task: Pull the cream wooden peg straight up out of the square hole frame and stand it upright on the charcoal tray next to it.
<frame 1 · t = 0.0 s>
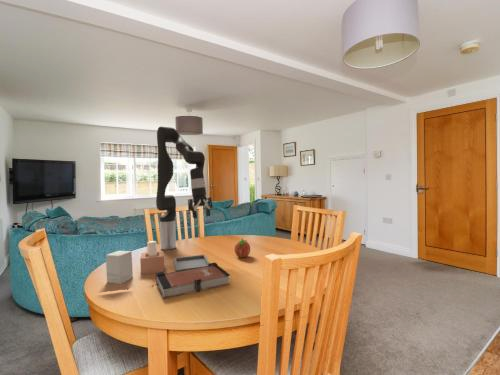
hand: (202, 217, 147), 22 cm above the table, tool pointing down, fingers open, 8 cm apart
book: (192, 285, 112), on the table
supplement box: (120, 282, 117), on the table
tray: (191, 266, 135), on the table
fruit: (242, 257, 149), on the table
square hole frame: (153, 271, 129), on the table
peg: (153, 269, 129), point 1 cm above the table, touching square hole frame
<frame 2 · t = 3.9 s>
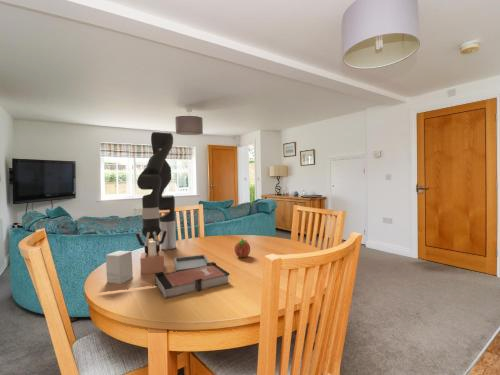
hand: (152, 253, 129), 9 cm above the table, tool pointing down, fingers closed on peg, 4 cm apart
peg: (153, 269, 129), point 1 cm above the table, touching square hole frame, gripper
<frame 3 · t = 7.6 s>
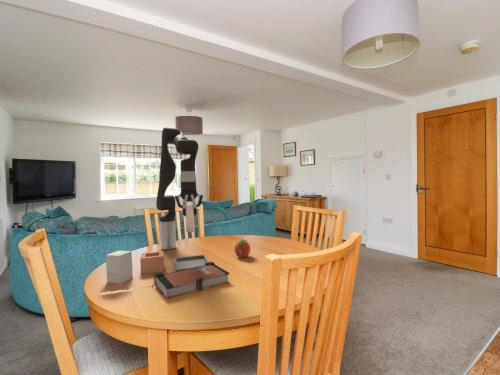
hand: (189, 215, 134), 25 cm above the table, tool pointing down, fingers closed on peg, 4 cm apart
peg: (190, 231, 134), point 17 cm above the table, touching gripper
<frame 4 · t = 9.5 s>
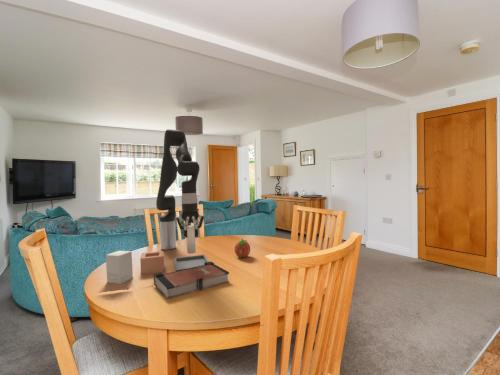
hand: (190, 236, 134), 15 cm above the table, tool pointing down, fingers closed on peg, 4 cm apart
peg: (191, 252, 134), point 7 cm above the table, touching gripper
when the fingers open (10 cm above the table, at t = 11.3 s): peg stays where it is, resting on tray.
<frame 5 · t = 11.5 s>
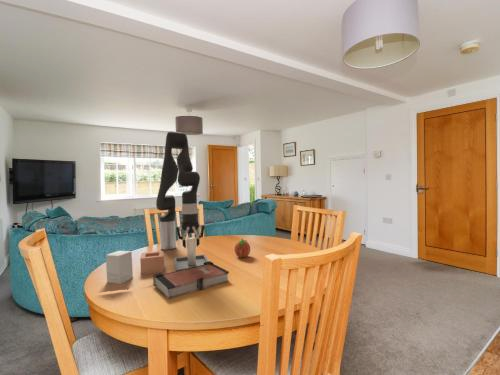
hand: (191, 246, 134), 10 cm above the table, tool pointing down, fingers open, 5 cm apart
peg: (191, 264, 135), point 1 cm above the table, touching tray
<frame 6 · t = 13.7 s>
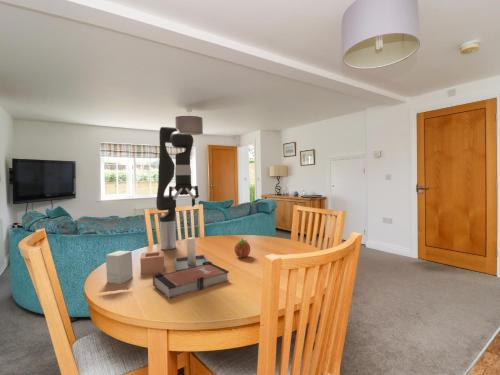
hand: (184, 206, 136), 29 cm above the table, tool pointing down, fingers open, 8 cm apart
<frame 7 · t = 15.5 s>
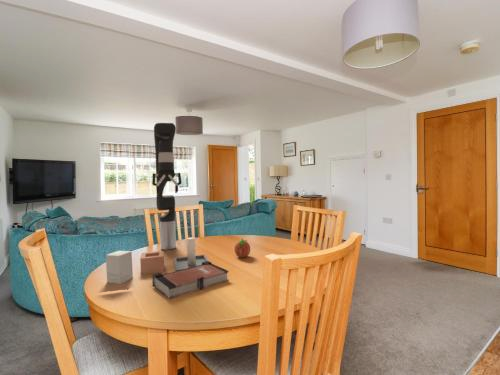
hand: (167, 193, 141), 36 cm above the table, tool pointing down, fingers open, 8 cm apart
at the end: peg inside the target area on the tray (0.0 cm from its centre), point 1.0 cm above the tray's base; peg tilted 0°; the gripper is holding nothing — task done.
